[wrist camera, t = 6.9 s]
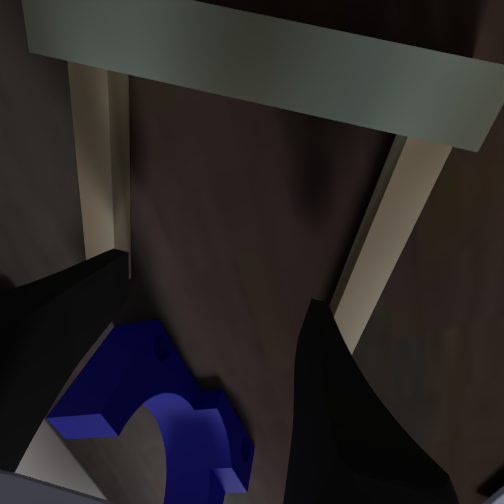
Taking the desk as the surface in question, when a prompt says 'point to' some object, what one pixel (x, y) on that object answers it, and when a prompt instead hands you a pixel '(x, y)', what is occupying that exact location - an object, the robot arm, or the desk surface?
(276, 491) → the desk surface
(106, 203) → the channel
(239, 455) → the cable clip
